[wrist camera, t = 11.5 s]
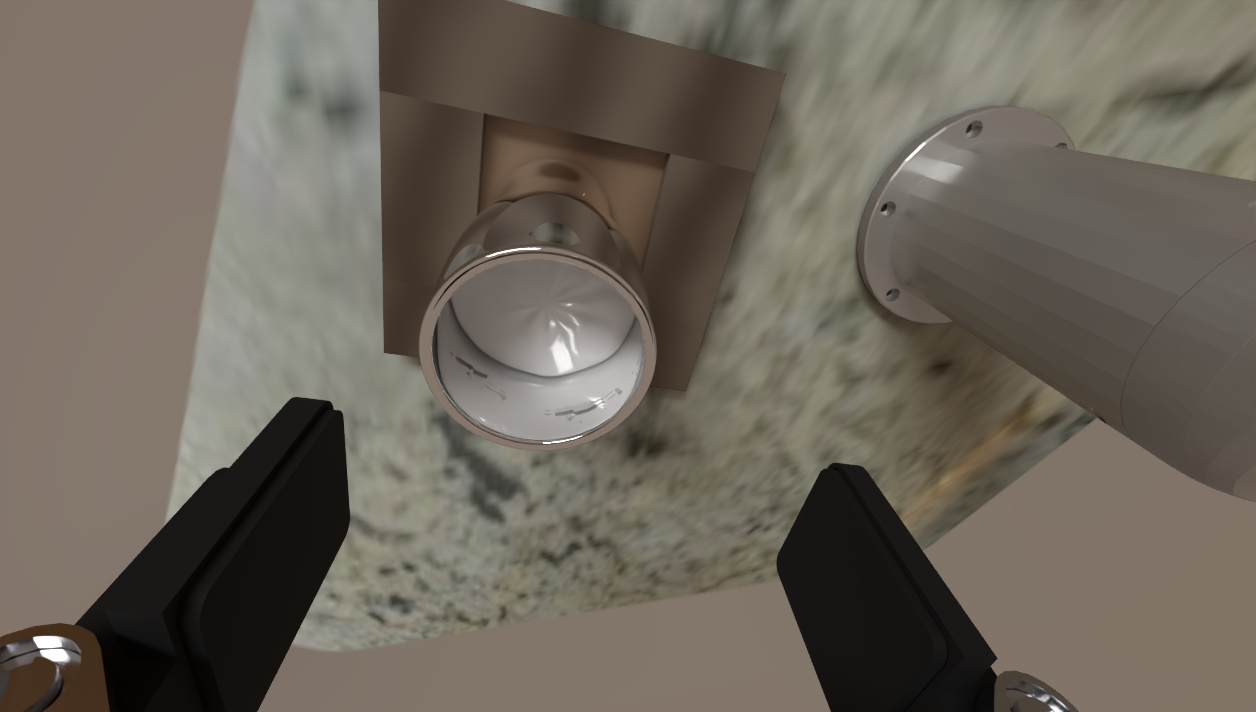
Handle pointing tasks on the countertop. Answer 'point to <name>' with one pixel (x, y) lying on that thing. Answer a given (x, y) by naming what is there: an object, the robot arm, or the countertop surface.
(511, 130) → the coaster board
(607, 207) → the beer glass
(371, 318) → the countertop surface
